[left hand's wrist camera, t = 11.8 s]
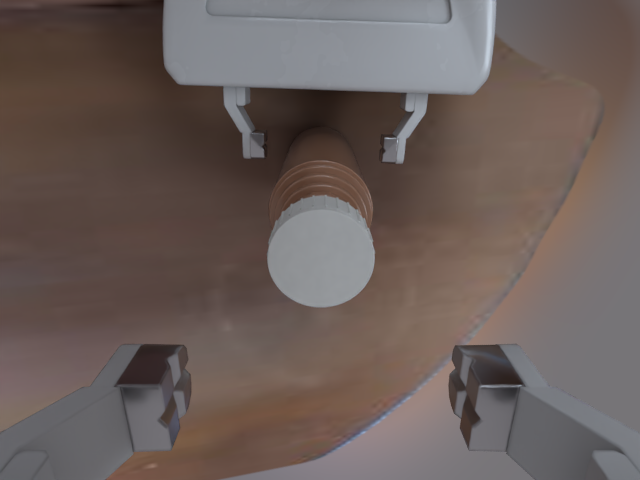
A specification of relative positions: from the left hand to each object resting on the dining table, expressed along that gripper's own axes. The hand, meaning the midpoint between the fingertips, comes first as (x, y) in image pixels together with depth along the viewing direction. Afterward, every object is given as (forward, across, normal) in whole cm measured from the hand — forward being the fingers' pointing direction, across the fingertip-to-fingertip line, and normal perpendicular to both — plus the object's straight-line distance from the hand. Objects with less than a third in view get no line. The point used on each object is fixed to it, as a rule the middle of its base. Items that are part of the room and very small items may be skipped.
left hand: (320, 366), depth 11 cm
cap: (+7, 0, 0) cm, 7 cm away
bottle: (+27, 0, 0) cm, 27 cm away
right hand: (+21, 0, +1) cm, 21 cm away
